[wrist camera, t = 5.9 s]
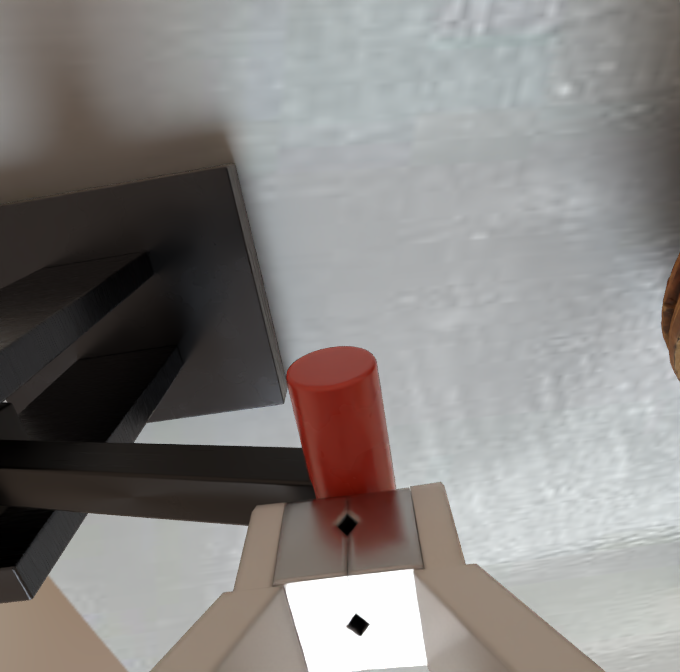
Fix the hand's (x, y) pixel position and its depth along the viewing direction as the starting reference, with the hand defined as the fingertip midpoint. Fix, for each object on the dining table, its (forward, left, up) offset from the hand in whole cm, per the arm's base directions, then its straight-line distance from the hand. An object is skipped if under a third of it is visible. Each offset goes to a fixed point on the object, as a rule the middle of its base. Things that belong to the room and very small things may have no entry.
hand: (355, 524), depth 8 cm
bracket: (+10, 0, -14) cm, 17 cm away
